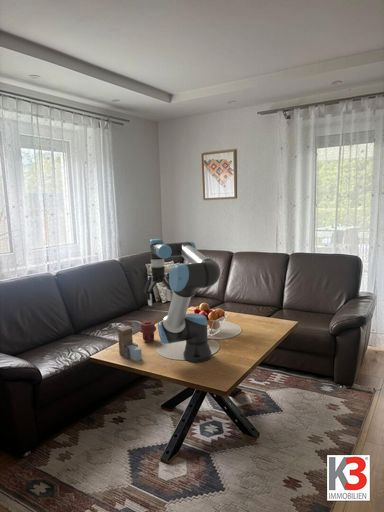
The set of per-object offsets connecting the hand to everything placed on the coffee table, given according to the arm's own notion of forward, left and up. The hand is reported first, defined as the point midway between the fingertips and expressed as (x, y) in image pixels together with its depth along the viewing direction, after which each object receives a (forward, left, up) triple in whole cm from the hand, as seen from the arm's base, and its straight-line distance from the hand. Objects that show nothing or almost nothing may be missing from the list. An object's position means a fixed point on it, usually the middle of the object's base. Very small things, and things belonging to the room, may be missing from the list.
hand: (159, 302), depth 210 cm
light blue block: (-1, +20, -27) cm, 33 cm away
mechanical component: (+15, -1, -27) cm, 31 cm away
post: (+5, +20, -27) cm, 33 cm away
